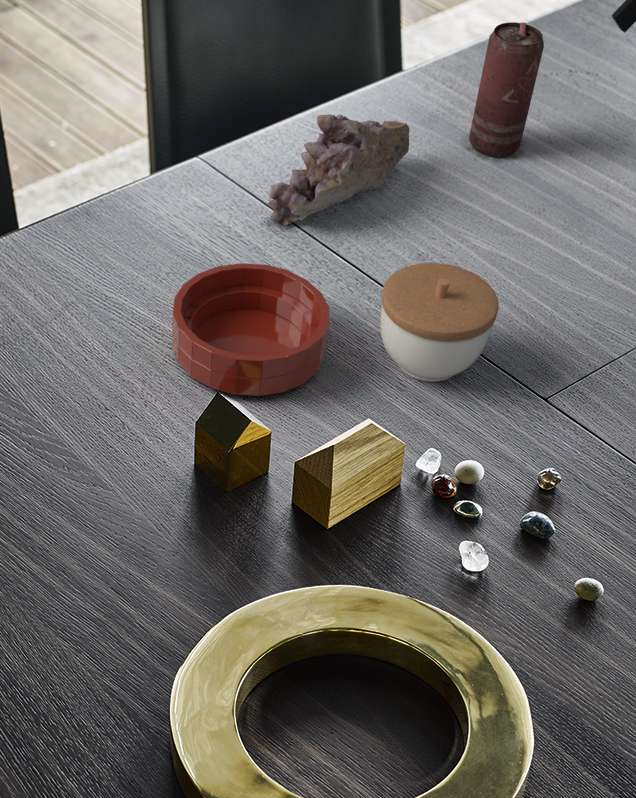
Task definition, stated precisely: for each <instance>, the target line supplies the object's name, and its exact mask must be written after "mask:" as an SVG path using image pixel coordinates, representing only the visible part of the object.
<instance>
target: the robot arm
mask: <svg viewBox="0 0 636 798" xmlns="http://www.w3.org/2000/svg"><path fill="white" fill-rule="evenodd" d="M610 16H611V17H612V19H613V21H614V22H615V23H616V25H617V27H618V28H619V30H620V31H622V32H623V33H624V34H625V33H627V31H629V29H630V28H632V26H634V24H636V0H625V1H624V2H623V3H621V5H620V6H619V7H618V8H617V9H615V10H614V12H613V13H612V14H611V15H610Z"/></svg>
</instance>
